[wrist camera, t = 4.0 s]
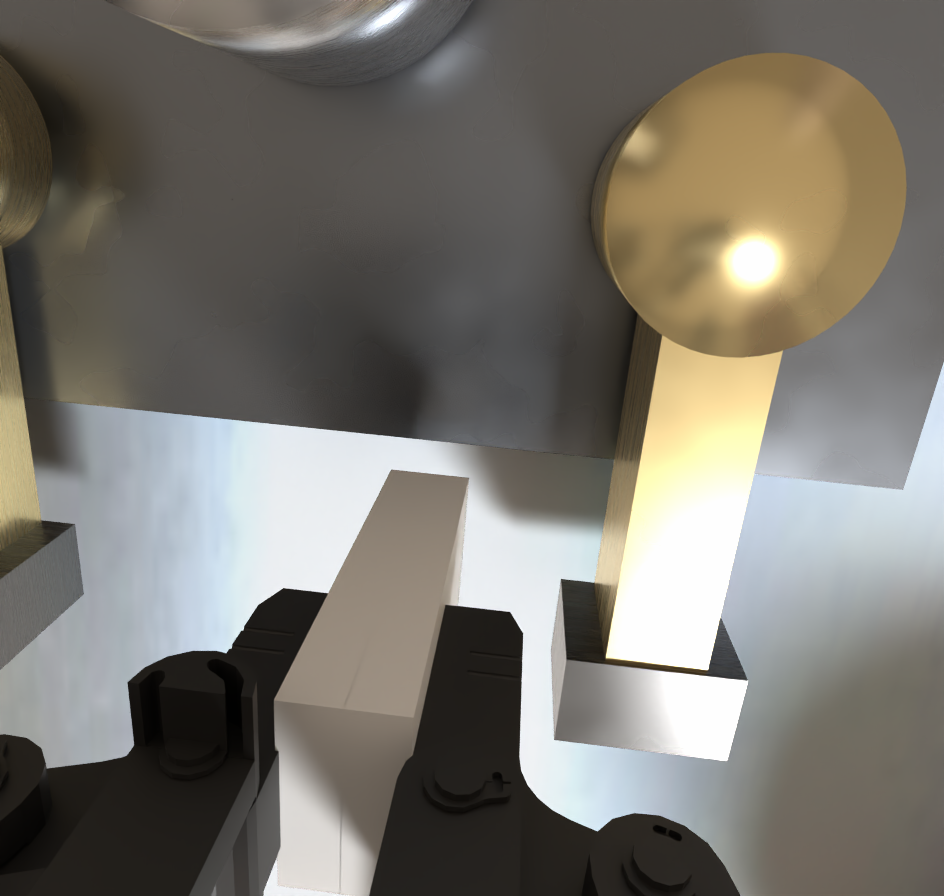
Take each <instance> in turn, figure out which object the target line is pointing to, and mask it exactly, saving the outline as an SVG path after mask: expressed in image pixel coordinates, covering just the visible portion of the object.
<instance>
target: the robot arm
mask: <svg viewBox="0 0 944 896" xmlns="http://www.w3.org/2000/svg"><path fill="white" fill-rule="evenodd" d="M468 484H469V478H465V477H455V476H446V475H436V474H427V473H418V472H408V471H399V470H391V471H390V473H389V475H388V477H387V479H386V481H385V483H384V485H383V487H382V489H381V491H380V493H379V495H378V497H377V499H376V501H375V503H374V505H373V507H372V509H371V511H370V513H369V515H368V517H367V518H366V520H365V522H364V524H363V526H362V528H361V530H360V532H359V534H358V536H357V538H356V540H355V542H354V544H353V546H352V548H351V550H350V552H349V554H348V556H347V558H346V560H345V562H344V564H343V566H342V568H341V569H340V571H339V573H338V575H337V577H336V579H335V581H334V583H333V585H332V587H331V589H330V591H329V593H320V592H312V591H303V590H294V589H286V588H283V589H282V590H280V591H279V592H277V593H276V594H274V595H273V596H271V597H270V598H268V599H267V600H265V601H264V602H262V603H261V604H259V605H258V606H257V608H256V609H255V611H254V613H253V614H252V616H251V617H250V619H249V620H248V622H247V623H246V625H245V626H244V631H241V632H240V634H239V635H238V637H237V638H236V640H235V641H234V643H233V644H232V649H229V650H228V652H227V653H222V652H218V651H190V652H186V653H182V654H177V655H173V656H168V657H166V658H164V659H162V660H159V661H157V662H155V663H153V664H151V665H149V666H147V667H145V668H144V669H142V670H141V671H140V672H139V673H138V674H137V675H136V676H134V677H133V678H132V679H131V680H130V681H129V682H128V691H129V700H130V709H131V718H132V728H133V737H134V747H133V748H132V749H131V751H130V752H129V754H128V755H127V756H125V757H122V758H118V759H113V760H108V761H103V762H96V763H88V764H80V765H72V766H64V767H56V768H48V769H47V768H46V763H45V759H44V756H43V752H42V749H41V748H40V747H39V746H37V745H36V744H35V743H33V742H32V741H30V740H29V739H28V738H24V737H17V736H11V735H5V734H3V735H0V896H263V891H264V889H265V886H266V883H267V881H268V878H269V876H270V873H271V870H272V868H273V865H274V863H275V860H276V858H277V867H278V886H284V887H292V888H299V889H306V890H313V891H321V892H328V893H335V894H342V895H350V896H740V894H739V892H738V890H737V888H736V887H735V885H734V883H733V881H732V879H731V877H730V875H729V873H728V871H727V870H726V868H725V866H724V864H723V863H722V862H721V860H720V859H719V858H718V856H717V855H716V854H715V852H714V851H713V850H712V848H711V847H710V846H709V844H708V843H707V842H705V841H704V840H703V839H701V838H700V837H699V836H697V835H696V834H695V833H693V832H692V831H691V830H689V829H688V828H687V827H685V826H684V825H681V824H679V823H676V822H674V821H671V820H669V819H666V818H664V817H661V816H657V815H647V814H636V813H634V814H630V815H626V816H622V817H618V818H615V819H612V820H611V821H610V822H608V823H607V824H606V825H605V826H604V827H603V828H601V829H600V830H599V831H598V832H597V831H595V830H592V829H590V828H588V827H585V826H583V825H581V824H578V823H576V822H574V821H571V820H569V819H567V818H565V817H564V816H562V815H560V814H558V813H556V812H554V811H553V810H551V809H550V808H549V807H548V806H546V805H545V804H544V803H543V802H542V801H540V800H539V799H538V798H537V797H536V795H535V794H534V793H533V792H532V790H531V789H530V788H529V787H528V785H527V783H526V781H525V779H524V776H523V774H522V772H521V767H520V759H519V748H520V715H521V683H522V682H521V678H522V651H523V633H522V631H521V629H520V628H519V626H518V624H517V623H516V621H515V620H514V618H513V616H512V615H511V613H510V612H504V611H496V610H487V609H479V608H470V607H461V606H458V602H459V591H460V579H461V567H462V555H463V544H464V532H465V520H466V508H467V496H468Z"/></svg>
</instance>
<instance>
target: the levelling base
mask: <svg viewBox="0 0 944 896" xmlns="http://www.w3.org/2000/svg"><path fill="white" fill-rule="evenodd" d="M761 53H790V54H797V55H803V56H808V57H812V58H815V59H818V60H821V61H824V62H827V63H829V64H831V65H833V66H835V67H837V68H839V69H841V70H843V71H845V72H846V73H848V74H849V75H851V76H852V77H854V78H855V79H856V80H858V81H859V82H860V83H862V84H863V85H864V86H865V87H866V88H867V89H868V90H869V91H870V92H871V93H872V94H873V95H874V96H875V98H876V99H877V100H878V102H879V103H880V104H881V106H882V107H883V108H884V110H885V111H886V113H887V115H888V116H889V118H890V120H891V122H892V124H893V126H894V128H895V130H896V133H897V136H898V139H899V142H900V144H901V147H902V152H903V157H904V162H905V168H906V186H907V189H906V201H905V210H904V215H903V220H902V225H901V229H900V232H899V235H898V238H897V241H896V244H895V246H894V249H893V251H892V253H891V255H890V257H889V259H888V261H887V264H886V266H885V267H884V269H883V271H882V272H881V274H880V275H879V277H878V278H877V280H876V282H875V283H874V285H873V286H872V287H871V288H870V290H869V291H868V292H867V293H866V295H865V296H864V297H863V298H862V300H861V301H860V302H859V303H858V304H857V305H856V306H855V307H854V308H853V309H852V310H851V311H850V312H849V313H848V314H847V315H845V316H844V317H843V318H842V319H840V320H839V321H838V322H836V323H835V324H834V325H833V326H831V327H830V328H828V329H827V330H825V331H824V332H822V333H820V334H819V335H817V336H816V337H814V338H812V339H810V340H808V341H806V342H803V343H801V344H799V345H797V346H795V347H792V348H789V349H786V350H783V353H782V357H781V361H780V365H779V370H778V374H777V378H776V382H775V386H774V391H773V395H772V399H771V403H770V408H769V412H768V416H767V420H766V425H765V429H764V433H763V437H762V441H761V446H760V450H759V454H758V458H757V463H756V467H755V471H754V474H758V475H768V476H777V477H787V478H796V479H806V480H816V481H825V482H835V483H844V484H854V485H864V486H873V487H883V488H892V489H902V490H903V488H904V485H905V482H906V479H907V475H908V472H909V469H910V466H911V463H912V460H913V457H914V453H915V450H916V447H917V444H918V441H919V438H920V435H921V431H922V428H923V425H924V422H925V419H926V416H927V413H928V409H929V406H930V403H931V400H932V397H933V394H934V391H935V387H936V384H937V381H938V378H939V375H940V372H941V369H942V365H943V362H944V0H0V54H1V55H2V56H3V57H4V58H5V59H6V60H7V61H8V62H9V63H10V64H11V65H12V67H13V68H14V69H15V70H16V71H17V73H18V74H19V75H20V76H21V77H22V79H23V80H24V82H25V83H26V85H27V86H28V88H29V89H30V91H31V93H32V94H33V96H34V98H35V100H36V102H37V104H38V106H39V108H40V110H41V113H42V115H43V118H44V120H45V123H46V127H47V130H48V134H49V138H50V143H51V149H52V160H53V173H52V184H51V189H50V194H49V197H48V200H47V203H46V206H45V208H44V210H43V212H42V214H41V216H40V218H39V220H38V221H37V222H36V224H35V225H34V226H33V228H32V229H31V230H30V231H29V232H28V233H27V234H26V235H25V236H24V237H23V238H21V239H20V240H18V241H17V242H15V243H14V244H12V245H10V246H8V247H6V248H3V249H2V252H3V258H4V265H5V272H6V279H7V286H8V293H9V300H10V307H11V314H12V321H13V328H14V335H15V342H16V349H17V356H18V363H19V370H20V377H21V383H22V390H23V397H24V398H30V399H39V400H49V401H59V402H68V403H78V404H87V405H97V406H107V407H116V408H126V409H135V410H145V411H154V412H164V413H174V414H183V415H193V416H202V417H212V418H222V419H231V420H241V421H250V422H260V423H269V424H279V425H289V426H298V427H308V428H317V429H327V430H337V431H346V432H356V433H365V434H375V435H384V436H394V437H404V438H413V439H423V440H432V441H442V442H451V443H461V444H471V445H480V446H490V447H499V448H509V449H519V450H528V451H538V452H547V453H557V454H566V455H576V456H586V457H595V458H605V459H614V458H615V452H616V446H617V440H618V434H619V428H620V421H621V415H622V409H623V403H624V397H625V390H626V384H627V378H628V372H629V366H630V359H631V353H632V347H633V341H634V335H635V328H636V322H637V316H638V313H637V312H636V310H635V309H634V308H633V307H632V306H631V304H630V303H629V302H628V301H627V299H626V298H625V297H624V296H623V294H622V293H621V292H620V291H619V289H618V288H617V287H616V286H615V284H614V283H613V282H612V280H611V279H610V277H609V276H608V274H607V273H606V271H605V269H604V267H603V265H602V263H601V261H600V259H599V257H598V254H597V251H596V248H595V245H594V240H593V234H592V228H591V204H592V196H593V190H594V185H595V182H596V178H597V175H598V172H599V169H600V167H601V165H602V163H603V160H604V158H605V156H606V154H607V152H608V151H609V149H610V147H611V146H612V144H613V143H614V141H615V139H616V138H617V137H618V136H619V134H620V133H621V132H622V131H623V129H624V128H625V127H626V126H627V125H628V124H629V123H630V122H631V121H632V120H633V119H634V118H635V117H636V116H637V115H638V114H640V113H641V112H642V111H643V110H645V109H646V108H647V107H649V106H650V105H651V104H653V103H654V102H656V101H657V100H659V99H660V98H661V97H663V96H664V95H666V94H667V93H669V92H670V91H672V90H673V89H675V88H676V87H678V86H679V85H680V84H682V83H683V82H685V81H686V80H688V79H690V78H692V77H693V76H695V75H697V74H698V73H700V72H702V71H703V70H706V69H708V68H710V67H713V66H715V65H717V64H720V63H722V62H724V61H728V60H732V59H735V58H739V57H742V56H747V55H754V54H761Z"/></svg>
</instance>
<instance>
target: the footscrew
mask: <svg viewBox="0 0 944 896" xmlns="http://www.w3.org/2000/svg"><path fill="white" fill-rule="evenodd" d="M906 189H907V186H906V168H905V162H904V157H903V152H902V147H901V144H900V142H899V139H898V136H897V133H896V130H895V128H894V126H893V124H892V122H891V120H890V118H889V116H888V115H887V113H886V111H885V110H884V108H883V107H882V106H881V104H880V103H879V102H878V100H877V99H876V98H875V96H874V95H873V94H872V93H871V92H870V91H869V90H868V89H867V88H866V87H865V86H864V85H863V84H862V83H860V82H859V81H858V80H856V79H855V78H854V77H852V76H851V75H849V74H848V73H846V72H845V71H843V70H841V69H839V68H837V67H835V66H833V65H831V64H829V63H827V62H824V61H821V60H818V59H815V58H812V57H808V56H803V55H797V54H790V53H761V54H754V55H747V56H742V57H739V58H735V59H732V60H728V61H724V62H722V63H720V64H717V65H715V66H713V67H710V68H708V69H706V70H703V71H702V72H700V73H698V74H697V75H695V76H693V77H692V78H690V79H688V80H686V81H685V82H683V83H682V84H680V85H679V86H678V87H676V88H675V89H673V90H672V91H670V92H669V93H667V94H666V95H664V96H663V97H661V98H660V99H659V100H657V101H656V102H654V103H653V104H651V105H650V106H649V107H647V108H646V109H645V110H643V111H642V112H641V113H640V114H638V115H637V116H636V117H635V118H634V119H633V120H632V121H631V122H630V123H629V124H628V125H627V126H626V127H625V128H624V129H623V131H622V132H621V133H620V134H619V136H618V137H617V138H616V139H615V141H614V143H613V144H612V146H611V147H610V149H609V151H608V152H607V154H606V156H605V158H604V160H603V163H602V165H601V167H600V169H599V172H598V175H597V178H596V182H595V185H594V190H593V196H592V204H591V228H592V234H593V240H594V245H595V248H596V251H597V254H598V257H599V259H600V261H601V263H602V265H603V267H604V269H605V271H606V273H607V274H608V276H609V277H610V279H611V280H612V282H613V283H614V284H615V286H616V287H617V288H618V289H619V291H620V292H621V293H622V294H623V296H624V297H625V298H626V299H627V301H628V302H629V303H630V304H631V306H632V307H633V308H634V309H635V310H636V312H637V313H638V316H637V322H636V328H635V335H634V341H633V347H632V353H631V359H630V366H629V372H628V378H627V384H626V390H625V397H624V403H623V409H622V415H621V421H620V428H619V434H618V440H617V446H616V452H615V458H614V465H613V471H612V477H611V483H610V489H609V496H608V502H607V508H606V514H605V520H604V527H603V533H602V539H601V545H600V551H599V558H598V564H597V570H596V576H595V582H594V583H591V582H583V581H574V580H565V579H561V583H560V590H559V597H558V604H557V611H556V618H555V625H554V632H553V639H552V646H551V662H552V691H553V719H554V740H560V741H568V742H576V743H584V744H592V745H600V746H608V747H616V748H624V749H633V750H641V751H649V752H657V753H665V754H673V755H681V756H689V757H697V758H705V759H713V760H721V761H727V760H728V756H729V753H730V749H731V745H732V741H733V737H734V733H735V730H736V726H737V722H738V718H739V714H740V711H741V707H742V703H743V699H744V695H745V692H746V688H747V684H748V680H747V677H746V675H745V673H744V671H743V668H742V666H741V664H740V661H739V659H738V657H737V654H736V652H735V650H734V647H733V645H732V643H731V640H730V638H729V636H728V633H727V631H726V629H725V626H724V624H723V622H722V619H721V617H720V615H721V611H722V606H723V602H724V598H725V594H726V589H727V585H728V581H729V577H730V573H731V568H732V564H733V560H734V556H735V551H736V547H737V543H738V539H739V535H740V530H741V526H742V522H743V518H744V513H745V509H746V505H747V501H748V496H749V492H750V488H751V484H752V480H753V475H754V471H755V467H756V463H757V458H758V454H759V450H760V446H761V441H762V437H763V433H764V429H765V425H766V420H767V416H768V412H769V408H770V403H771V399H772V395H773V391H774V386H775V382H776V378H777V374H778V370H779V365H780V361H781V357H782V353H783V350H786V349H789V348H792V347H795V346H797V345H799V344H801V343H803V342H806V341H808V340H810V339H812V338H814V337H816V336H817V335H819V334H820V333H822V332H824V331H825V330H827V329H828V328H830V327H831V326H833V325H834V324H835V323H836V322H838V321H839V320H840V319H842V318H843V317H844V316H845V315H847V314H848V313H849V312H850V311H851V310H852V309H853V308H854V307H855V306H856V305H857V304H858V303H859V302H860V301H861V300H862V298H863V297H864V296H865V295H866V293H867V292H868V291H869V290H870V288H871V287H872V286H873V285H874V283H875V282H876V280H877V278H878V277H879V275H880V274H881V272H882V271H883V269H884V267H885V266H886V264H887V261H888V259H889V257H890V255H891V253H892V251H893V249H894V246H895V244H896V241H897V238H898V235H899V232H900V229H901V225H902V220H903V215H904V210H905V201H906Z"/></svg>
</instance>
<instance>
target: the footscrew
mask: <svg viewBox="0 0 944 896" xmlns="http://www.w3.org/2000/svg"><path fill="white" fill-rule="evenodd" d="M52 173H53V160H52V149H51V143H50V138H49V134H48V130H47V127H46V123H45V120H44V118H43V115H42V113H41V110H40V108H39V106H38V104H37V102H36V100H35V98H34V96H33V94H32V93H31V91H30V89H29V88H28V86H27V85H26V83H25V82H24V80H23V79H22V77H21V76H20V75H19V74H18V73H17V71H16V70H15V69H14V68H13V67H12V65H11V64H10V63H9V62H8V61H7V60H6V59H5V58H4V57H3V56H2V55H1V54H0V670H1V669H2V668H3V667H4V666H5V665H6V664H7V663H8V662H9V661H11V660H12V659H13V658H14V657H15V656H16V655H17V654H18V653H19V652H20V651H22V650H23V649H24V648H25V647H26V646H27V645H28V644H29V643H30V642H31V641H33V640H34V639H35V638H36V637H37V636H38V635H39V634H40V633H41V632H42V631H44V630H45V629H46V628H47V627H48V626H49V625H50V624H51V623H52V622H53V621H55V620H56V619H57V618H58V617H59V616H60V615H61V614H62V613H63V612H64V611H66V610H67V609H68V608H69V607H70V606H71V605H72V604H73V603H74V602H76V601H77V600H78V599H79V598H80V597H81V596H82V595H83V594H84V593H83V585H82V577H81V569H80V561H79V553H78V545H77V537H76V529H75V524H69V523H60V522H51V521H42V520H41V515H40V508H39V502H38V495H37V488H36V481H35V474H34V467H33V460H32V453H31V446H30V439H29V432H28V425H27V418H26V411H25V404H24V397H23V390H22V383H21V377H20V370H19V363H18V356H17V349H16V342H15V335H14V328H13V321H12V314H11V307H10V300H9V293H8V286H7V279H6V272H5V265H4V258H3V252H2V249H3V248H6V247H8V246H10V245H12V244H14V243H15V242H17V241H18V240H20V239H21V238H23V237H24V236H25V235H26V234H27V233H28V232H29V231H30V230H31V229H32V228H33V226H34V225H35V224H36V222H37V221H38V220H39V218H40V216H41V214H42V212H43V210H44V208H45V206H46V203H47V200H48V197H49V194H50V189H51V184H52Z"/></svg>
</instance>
